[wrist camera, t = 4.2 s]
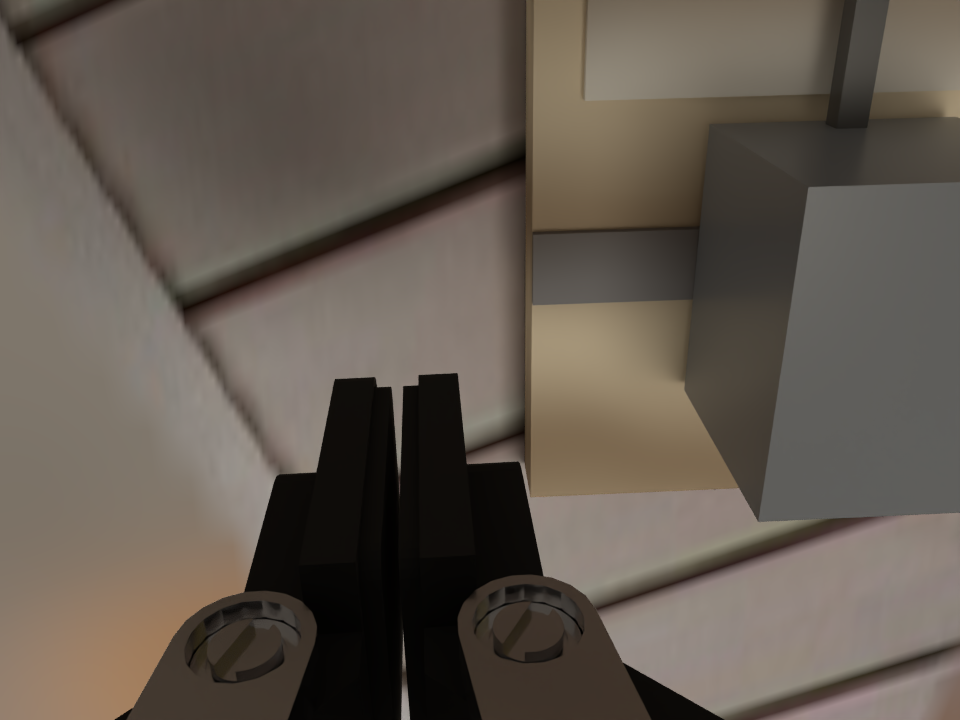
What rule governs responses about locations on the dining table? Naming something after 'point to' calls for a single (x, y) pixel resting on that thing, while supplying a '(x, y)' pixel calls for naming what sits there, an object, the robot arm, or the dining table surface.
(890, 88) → the track board
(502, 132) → the dining table surface
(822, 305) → the block
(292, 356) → the dining table surface
